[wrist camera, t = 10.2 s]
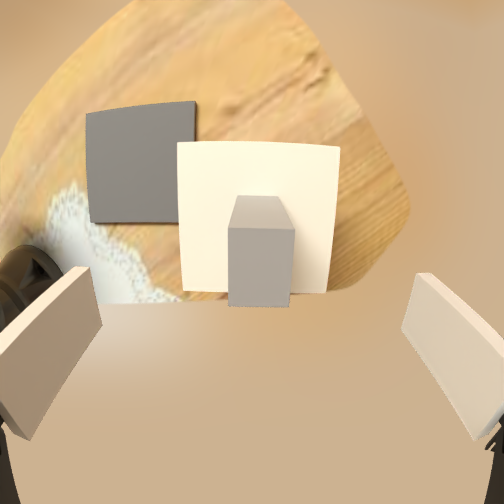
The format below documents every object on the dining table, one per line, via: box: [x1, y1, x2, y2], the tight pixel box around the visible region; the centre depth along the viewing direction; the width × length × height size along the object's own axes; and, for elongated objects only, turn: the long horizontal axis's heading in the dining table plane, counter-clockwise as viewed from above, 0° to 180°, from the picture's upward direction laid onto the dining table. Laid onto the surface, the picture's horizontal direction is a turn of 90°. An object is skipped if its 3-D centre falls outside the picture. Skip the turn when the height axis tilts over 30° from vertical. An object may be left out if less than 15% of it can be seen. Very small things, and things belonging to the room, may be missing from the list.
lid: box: [177, 141, 340, 307], centre depth 18 cm, size 12×12×10 cm
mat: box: [86, 101, 196, 223], centre depth 32 cm, size 14×14×1 cm
